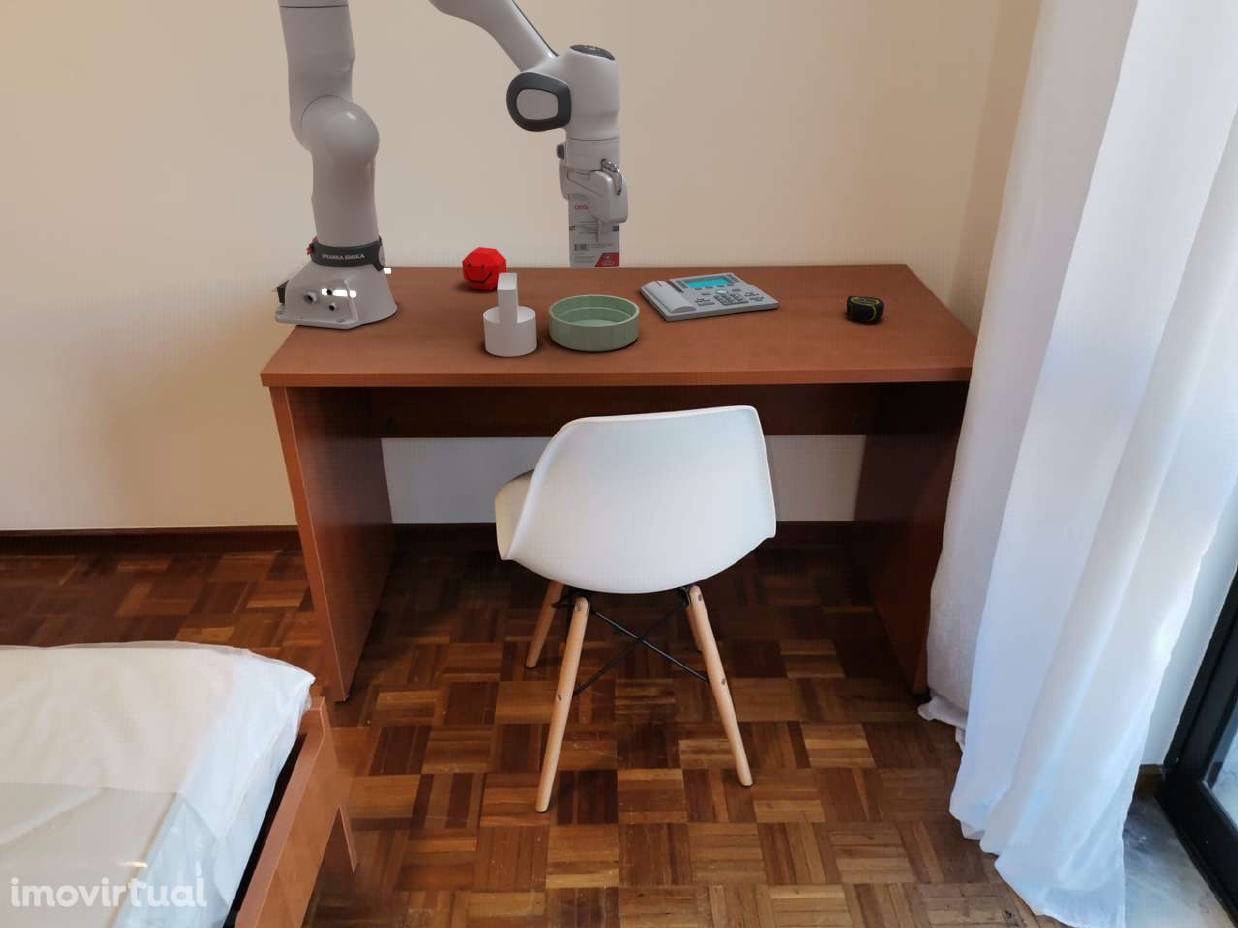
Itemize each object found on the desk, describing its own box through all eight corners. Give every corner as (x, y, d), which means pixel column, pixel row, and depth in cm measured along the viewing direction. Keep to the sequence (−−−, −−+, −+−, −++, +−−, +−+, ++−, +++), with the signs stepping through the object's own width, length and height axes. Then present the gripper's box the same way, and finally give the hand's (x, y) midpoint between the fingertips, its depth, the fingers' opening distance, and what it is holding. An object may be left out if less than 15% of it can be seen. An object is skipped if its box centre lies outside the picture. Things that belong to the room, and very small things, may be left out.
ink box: (616, 258, 160) (617, 191, 154) (619, 267, 156) (620, 198, 150) (568, 260, 159) (567, 192, 153) (570, 268, 155) (568, 199, 149)
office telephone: (668, 309, 169) (633, 277, 186) (667, 322, 171) (633, 289, 187) (779, 295, 176) (736, 265, 192) (778, 308, 177) (735, 277, 193)
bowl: (545, 352, 158) (544, 325, 155) (554, 319, 172) (553, 293, 169) (638, 354, 157) (638, 327, 155) (639, 320, 171) (639, 295, 169)
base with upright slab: (486, 337, 163) (482, 273, 157) (536, 336, 164) (534, 272, 158) (484, 357, 156) (479, 290, 150) (536, 355, 156) (533, 289, 150)
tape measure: (881, 314, 175) (884, 295, 173) (881, 326, 169) (885, 307, 168) (845, 311, 177) (848, 292, 175) (844, 323, 171) (847, 304, 169)
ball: (459, 290, 185) (456, 254, 181) (476, 278, 192) (473, 243, 188) (495, 294, 183) (493, 258, 179) (511, 282, 190) (509, 246, 186)
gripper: (638, 165, 142) (637, 251, 148) (585, 141, 157) (586, 221, 164) (602, 168, 139) (602, 256, 146) (551, 144, 155) (554, 225, 162)
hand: (593, 237), depth 155 cm, fingers closed on ink box, 6 cm apart
